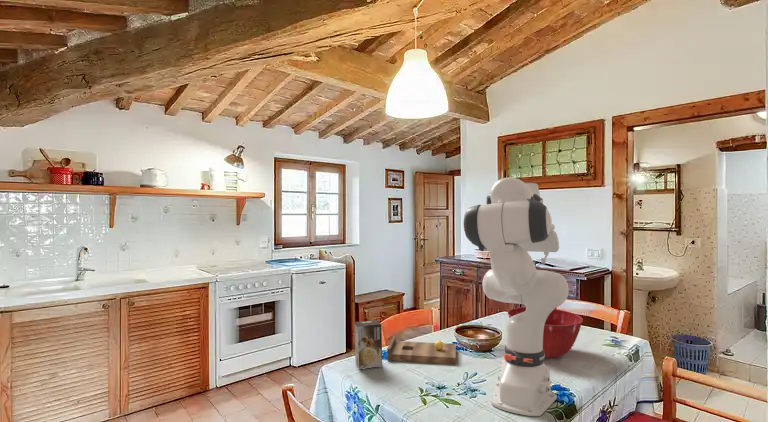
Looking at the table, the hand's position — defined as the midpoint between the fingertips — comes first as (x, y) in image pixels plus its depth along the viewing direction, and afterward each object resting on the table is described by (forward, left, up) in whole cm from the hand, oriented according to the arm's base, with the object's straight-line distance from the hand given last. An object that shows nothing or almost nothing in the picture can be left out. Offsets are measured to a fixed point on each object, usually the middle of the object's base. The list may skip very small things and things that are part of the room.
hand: (530, 263), depth 151 cm
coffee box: (-30, +53, -38) cm, 71 cm away
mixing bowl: (+16, -2, -38) cm, 42 cm away
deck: (-10, +40, -38) cm, 56 cm away
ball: (-8, +33, -34) cm, 48 cm away
